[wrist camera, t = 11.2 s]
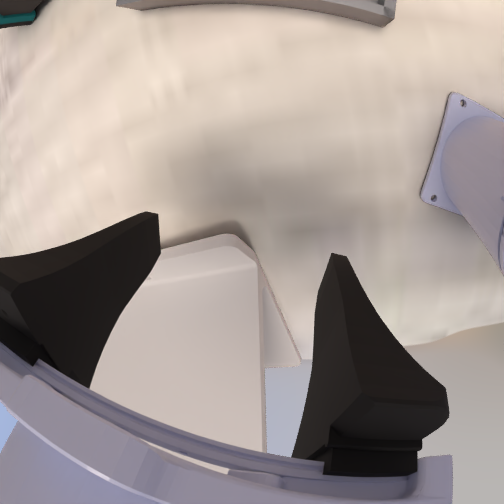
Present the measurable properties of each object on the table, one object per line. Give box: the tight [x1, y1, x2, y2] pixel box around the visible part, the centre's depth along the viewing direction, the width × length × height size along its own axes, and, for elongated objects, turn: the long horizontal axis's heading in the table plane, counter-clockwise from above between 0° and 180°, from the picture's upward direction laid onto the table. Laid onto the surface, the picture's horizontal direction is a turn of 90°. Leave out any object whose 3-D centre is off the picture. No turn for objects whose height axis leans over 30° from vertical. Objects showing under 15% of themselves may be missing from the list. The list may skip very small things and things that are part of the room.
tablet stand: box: [90, 234, 301, 475], centre depth 24 cm, size 18×25×17 cm
